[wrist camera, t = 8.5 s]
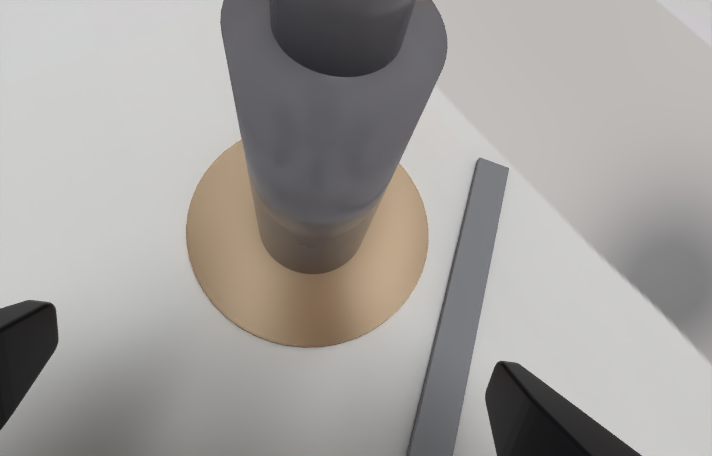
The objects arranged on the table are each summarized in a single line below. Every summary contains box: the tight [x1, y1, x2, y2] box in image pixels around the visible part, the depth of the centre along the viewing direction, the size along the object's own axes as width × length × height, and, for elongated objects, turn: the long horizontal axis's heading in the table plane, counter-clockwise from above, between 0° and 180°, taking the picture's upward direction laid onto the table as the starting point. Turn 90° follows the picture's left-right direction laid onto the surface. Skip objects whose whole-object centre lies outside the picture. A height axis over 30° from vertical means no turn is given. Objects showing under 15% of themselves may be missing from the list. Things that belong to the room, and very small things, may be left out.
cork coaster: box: [186, 140, 428, 347], centre depth 17 cm, size 10×10×1 cm
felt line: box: [407, 158, 509, 456], centre depth 17 cm, size 16×2×1 cm, turn 162°
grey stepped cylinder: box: [220, 0, 447, 274], centre depth 11 cm, size 4×4×13 cm
